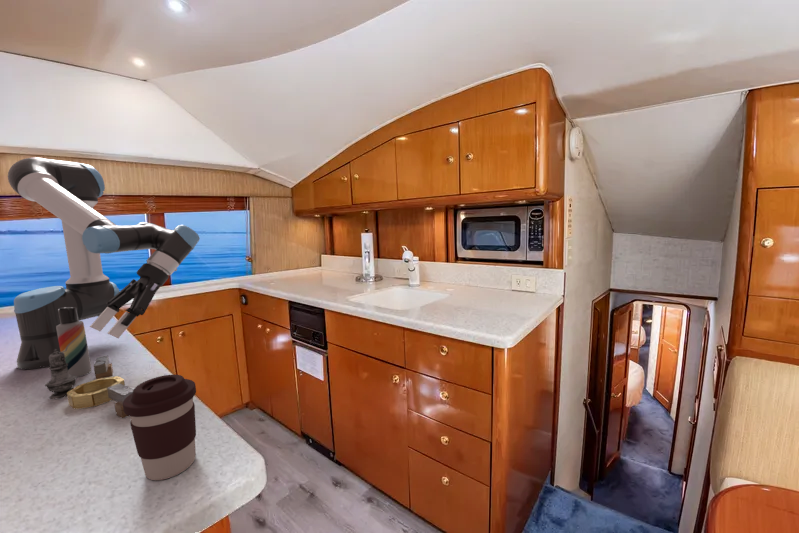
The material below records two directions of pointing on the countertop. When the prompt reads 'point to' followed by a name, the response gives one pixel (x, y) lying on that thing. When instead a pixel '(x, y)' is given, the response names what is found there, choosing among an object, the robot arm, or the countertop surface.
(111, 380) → the brass collar
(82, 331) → the lotion bottle
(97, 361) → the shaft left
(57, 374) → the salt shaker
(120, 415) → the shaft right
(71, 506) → the countertop surface
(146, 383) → the coffee cup
